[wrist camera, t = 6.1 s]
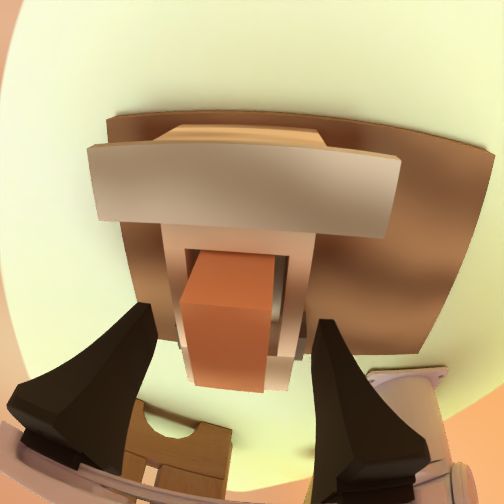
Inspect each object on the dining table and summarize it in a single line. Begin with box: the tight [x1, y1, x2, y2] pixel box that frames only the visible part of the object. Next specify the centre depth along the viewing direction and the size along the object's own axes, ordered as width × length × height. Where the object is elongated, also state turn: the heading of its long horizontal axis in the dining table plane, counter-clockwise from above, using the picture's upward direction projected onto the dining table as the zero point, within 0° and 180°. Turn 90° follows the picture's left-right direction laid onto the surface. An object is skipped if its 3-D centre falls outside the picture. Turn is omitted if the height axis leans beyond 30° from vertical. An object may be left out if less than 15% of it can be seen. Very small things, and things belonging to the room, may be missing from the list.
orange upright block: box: [180, 250, 275, 393], centre depth 13 cm, size 5×3×6 cm, turn 179°
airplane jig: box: [87, 111, 495, 391], centre depth 15 cm, size 15×20×5 cm
